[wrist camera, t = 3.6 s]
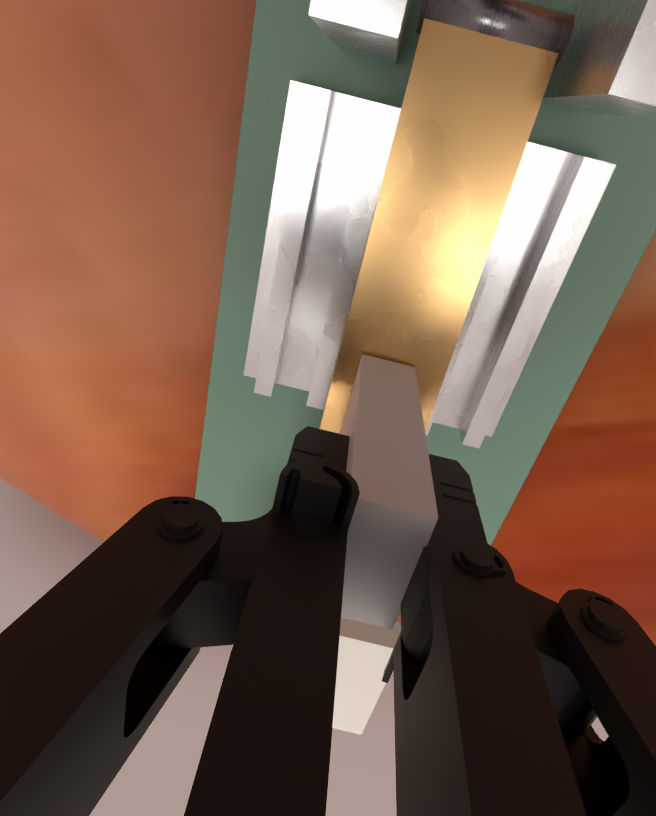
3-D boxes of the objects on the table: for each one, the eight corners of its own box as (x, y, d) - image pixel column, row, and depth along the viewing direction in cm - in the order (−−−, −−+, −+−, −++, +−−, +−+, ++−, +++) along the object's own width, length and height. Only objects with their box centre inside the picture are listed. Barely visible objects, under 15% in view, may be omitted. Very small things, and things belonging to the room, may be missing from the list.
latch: (281, 472, 22) (239, 611, 16) (398, 501, 22) (400, 650, 16) (263, 554, 24) (220, 701, 18) (368, 579, 24) (361, 734, 18)
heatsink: (320, -50, 14) (271, -159, 8) (652, 38, 14) (828, -10, 8) (252, 358, 20) (197, 458, 14) (485, 417, 20) (522, 538, 14)
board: (281, -128, 14) (273, -144, 13) (756, -1, 14) (780, -8, 13) (196, 526, 26) (189, 541, 25) (456, 589, 26) (458, 605, 25)
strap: (427, -16, 12) (431, -30, 11) (564, 21, 12) (580, 9, 11) (290, 528, 18) (286, 547, 17) (380, 550, 18) (380, 570, 18)
